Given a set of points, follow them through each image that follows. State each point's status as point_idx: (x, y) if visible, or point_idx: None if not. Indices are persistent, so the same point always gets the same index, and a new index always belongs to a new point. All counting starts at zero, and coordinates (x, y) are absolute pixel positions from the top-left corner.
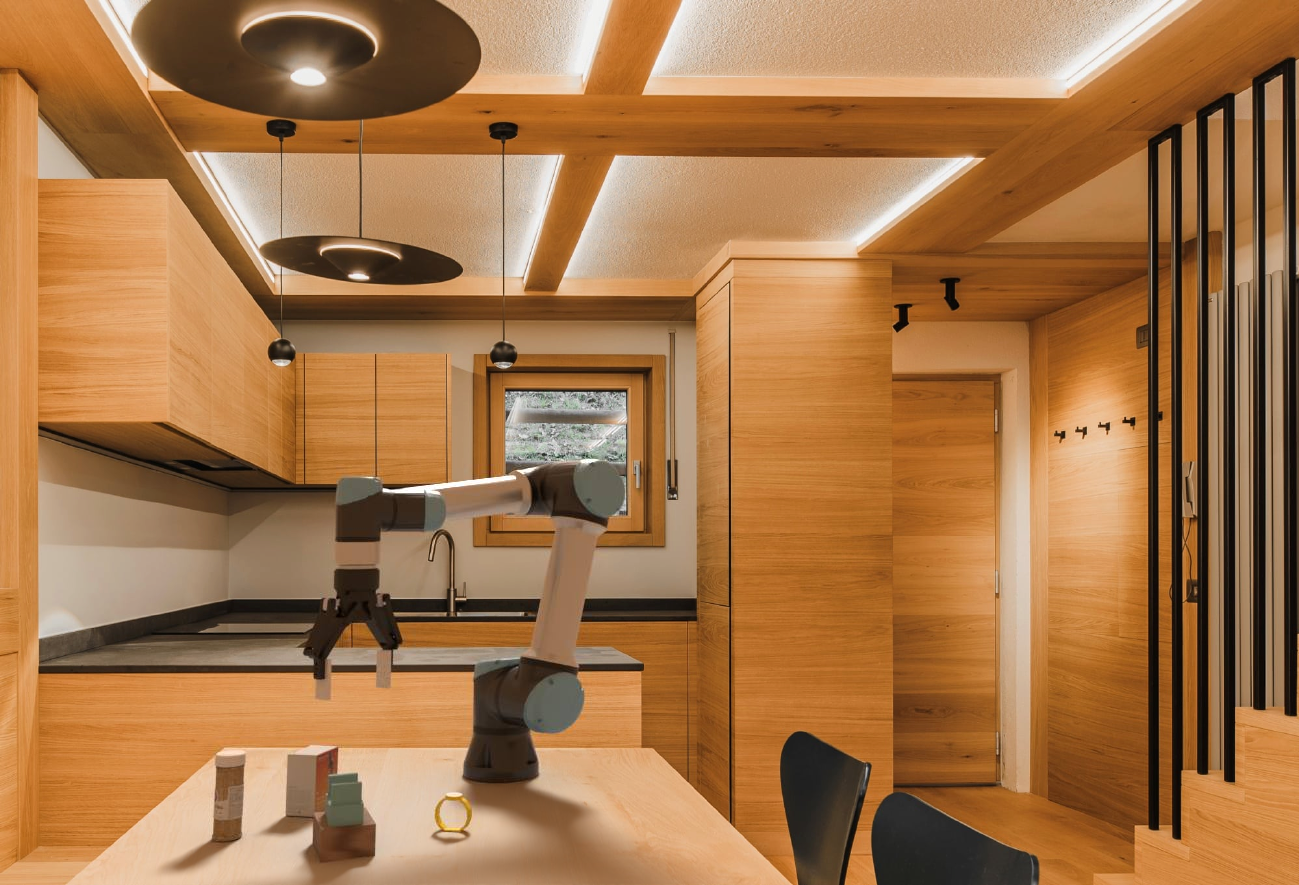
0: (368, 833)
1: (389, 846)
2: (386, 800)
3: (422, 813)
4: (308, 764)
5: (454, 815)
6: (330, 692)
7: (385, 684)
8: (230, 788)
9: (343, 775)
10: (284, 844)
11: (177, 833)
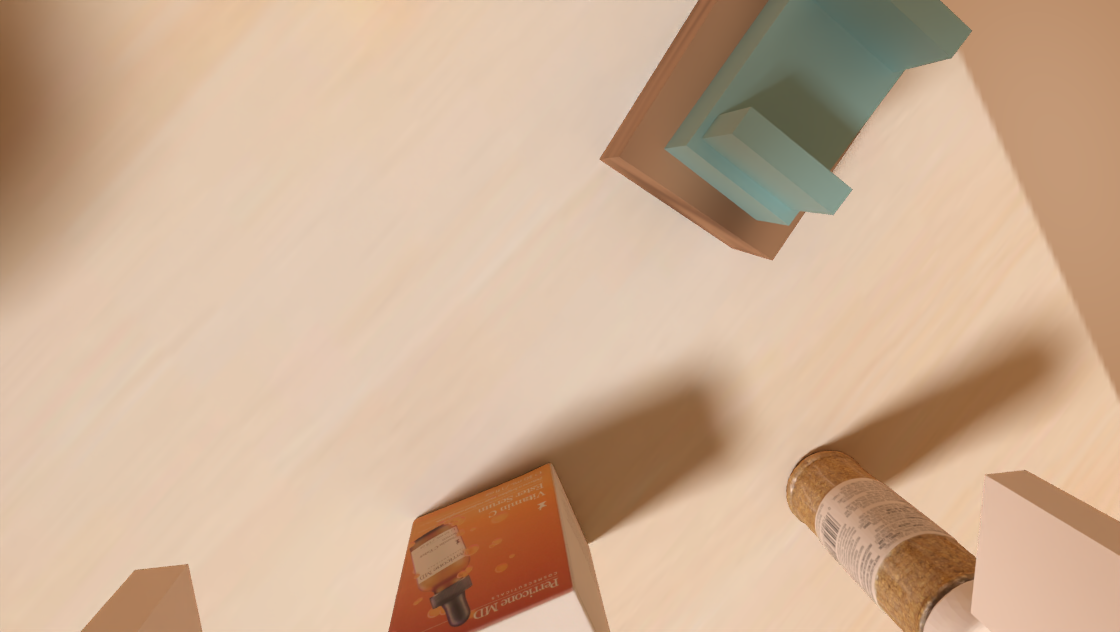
0: None
1: (623, 4)
2: (250, 445)
3: (275, 209)
4: (585, 590)
5: (209, 82)
6: (1046, 510)
7: (173, 621)
8: (948, 535)
9: (801, 150)
10: (780, 308)
11: (855, 620)
